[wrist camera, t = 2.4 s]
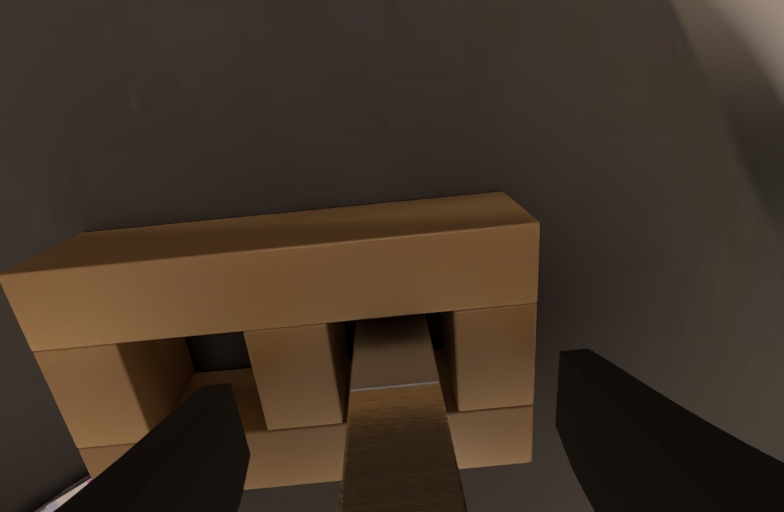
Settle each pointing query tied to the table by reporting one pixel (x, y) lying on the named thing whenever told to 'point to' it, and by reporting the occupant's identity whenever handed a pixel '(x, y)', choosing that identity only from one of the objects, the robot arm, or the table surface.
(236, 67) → the table surface
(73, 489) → the character figurine
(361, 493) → the tall bottle
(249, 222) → the holder
